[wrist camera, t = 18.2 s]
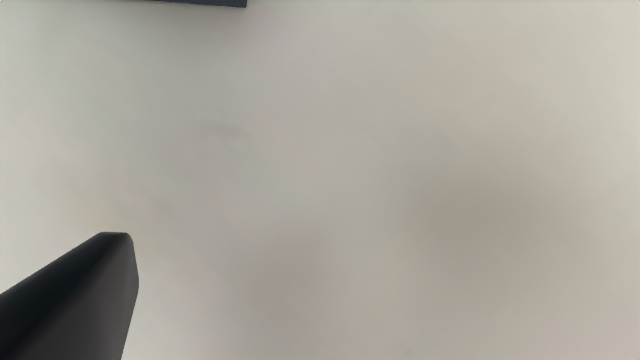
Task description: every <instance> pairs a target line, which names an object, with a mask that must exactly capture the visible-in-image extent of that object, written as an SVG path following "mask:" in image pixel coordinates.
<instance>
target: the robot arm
mask: <svg viewBox="0 0 640 360" xmlns="http://www.w3.org/2000/svg"><path fill="white" fill-rule="evenodd" d="M138 288H139V276H138V270H137V264H136V258H135V252H134V246H133V241H132V238H131V236H130V235H129V234H128V233H122V232H101V233H98V234H96V235H95V236H93V237H92V238H90V239H88V240H87V241H85V242H84V243H82V244H80V245H79V246H77V247H75V248H74V249H72V250H71V251H69V252H67V253H66V254H64V255H63V256H61V257H59V258H58V259H56V260H55V261H53V262H51V263H50V264H48V265H47V266H45V267H43V268H42V269H40V270H38V271H37V272H35V273H34V274H32V275H30V276H29V277H27V278H26V279H24V280H22V281H21V282H19V283H18V284H16V285H14V286H13V287H11V288H10V289H8V290H6V291H5V292H3V293H1V294H0V360H121V357H122V353H123V349H124V345H125V341H126V337H127V333H128V330H129V326H130V322H131V318H132V314H133V310H134V306H135V302H136V298H137V294H138Z"/></svg>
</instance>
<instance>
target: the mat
mask: <svg viewBox="0 0 640 360" xmlns="http://www.w3.org/2000/svg"><path fill="white" fill-rule="evenodd" d="M155 1H168V2H180V3H193V4H206V5H219V6H232V7H244V8H245V7H246V6H247V0H155Z"/></svg>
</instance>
